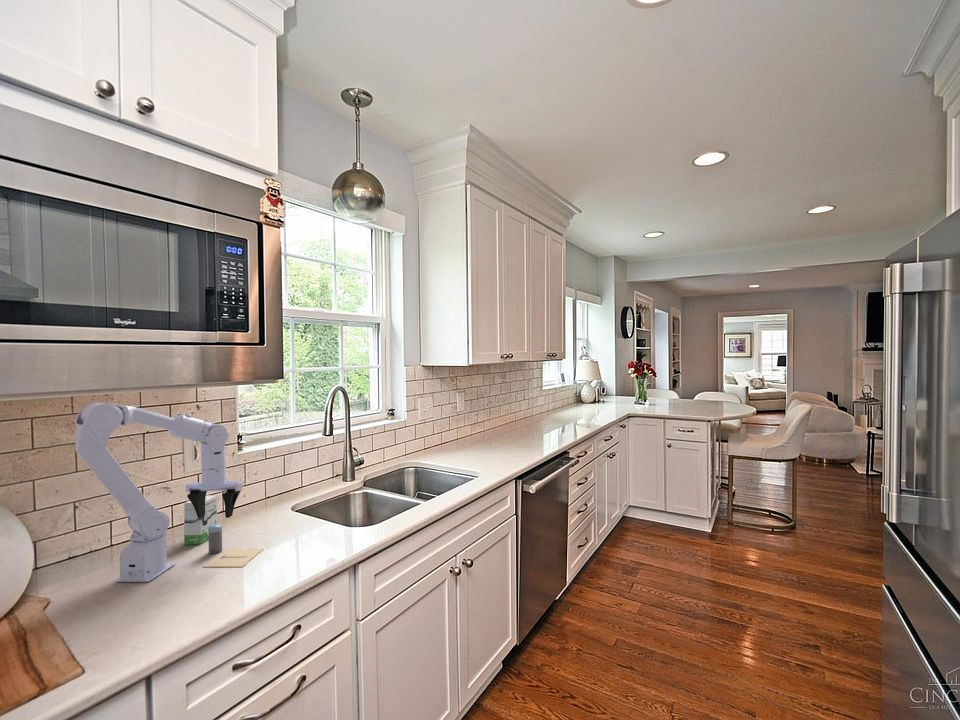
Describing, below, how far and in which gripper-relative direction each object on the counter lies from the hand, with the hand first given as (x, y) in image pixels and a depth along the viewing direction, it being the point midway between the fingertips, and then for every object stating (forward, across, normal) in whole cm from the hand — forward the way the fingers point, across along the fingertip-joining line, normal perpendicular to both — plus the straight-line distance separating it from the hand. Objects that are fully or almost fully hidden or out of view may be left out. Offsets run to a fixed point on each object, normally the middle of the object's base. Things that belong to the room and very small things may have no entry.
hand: (215, 516), depth 127 cm
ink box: (+10, +10, -9) cm, 16 cm away
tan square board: (+10, -7, +4) cm, 13 cm away
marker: (+10, 0, 0) cm, 10 cm away
